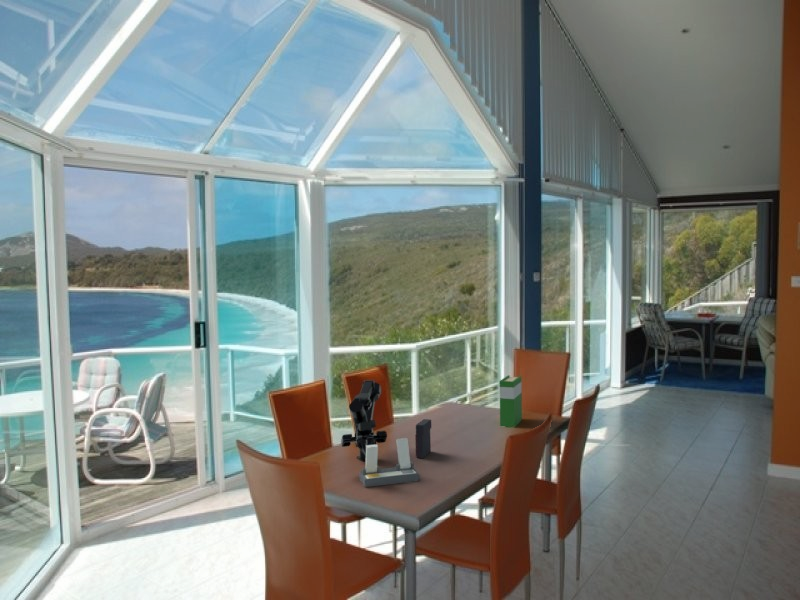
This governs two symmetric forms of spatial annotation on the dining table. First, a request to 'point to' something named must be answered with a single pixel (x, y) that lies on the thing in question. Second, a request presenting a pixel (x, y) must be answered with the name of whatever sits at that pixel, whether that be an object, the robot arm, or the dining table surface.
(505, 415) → the hardback book
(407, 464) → the lever slate
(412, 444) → the dining table surface
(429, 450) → the dark gray upright box
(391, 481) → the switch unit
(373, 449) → the white switch lever
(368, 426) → the robot arm
